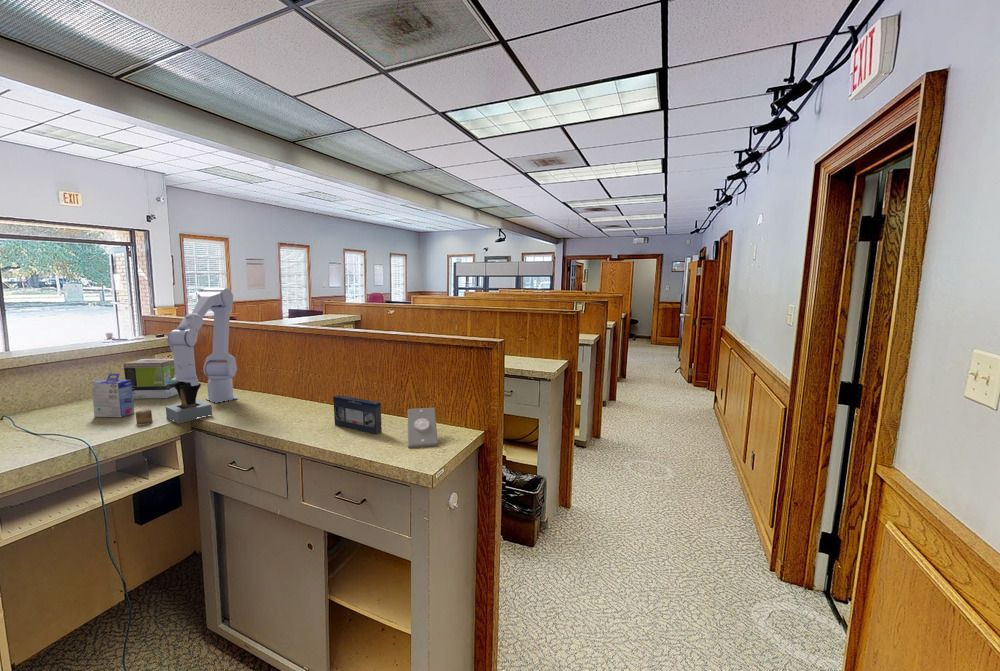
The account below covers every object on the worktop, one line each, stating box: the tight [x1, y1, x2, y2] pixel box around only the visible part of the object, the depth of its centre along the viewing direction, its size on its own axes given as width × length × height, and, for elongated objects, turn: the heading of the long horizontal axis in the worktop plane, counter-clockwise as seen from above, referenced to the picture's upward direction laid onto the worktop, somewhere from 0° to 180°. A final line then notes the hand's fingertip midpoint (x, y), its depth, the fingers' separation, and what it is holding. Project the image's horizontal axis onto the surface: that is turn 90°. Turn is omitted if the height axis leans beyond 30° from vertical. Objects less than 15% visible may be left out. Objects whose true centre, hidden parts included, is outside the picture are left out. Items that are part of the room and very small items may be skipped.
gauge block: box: [165, 399, 213, 424], centre depth 145 cm, size 10×10×4 cm
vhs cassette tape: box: [333, 394, 383, 435], centre depth 135 cm, size 18×3×10 cm, turn 62°
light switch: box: [407, 407, 439, 449], centre depth 128 cm, size 8×6×14 cm
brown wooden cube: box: [134, 409, 153, 426], centre depth 139 cm, size 4×4×4 cm
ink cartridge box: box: [91, 373, 135, 418], centre depth 145 cm, size 10×6×14 cm, turn 89°
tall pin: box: [180, 389, 196, 409], centre depth 144 cm, size 4×4×8 cm
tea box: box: [123, 358, 179, 400], centre depth 169 cm, size 15×10×15 cm
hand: (188, 402), depth 144 cm, fingers closed on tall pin, 4 cm apart
